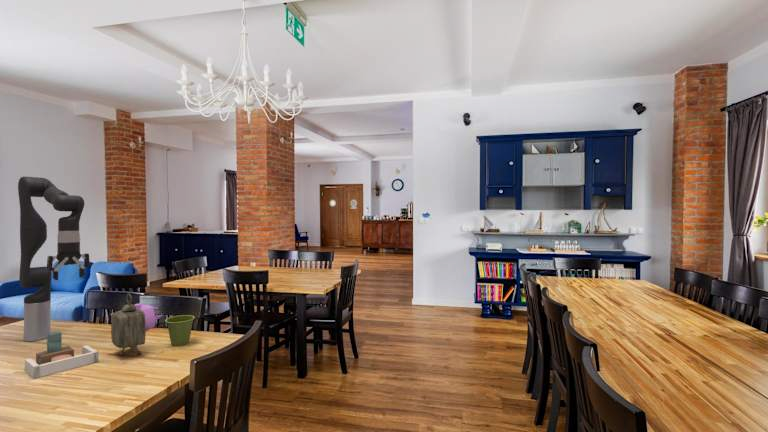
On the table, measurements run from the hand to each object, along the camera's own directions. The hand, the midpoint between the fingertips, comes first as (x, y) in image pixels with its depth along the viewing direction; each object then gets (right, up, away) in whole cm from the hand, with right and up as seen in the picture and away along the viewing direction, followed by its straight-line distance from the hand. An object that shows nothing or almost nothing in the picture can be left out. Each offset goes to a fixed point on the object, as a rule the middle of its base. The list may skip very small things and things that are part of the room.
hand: (68, 278), depth 165 cm
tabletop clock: (+30, -30, -6) cm, 43 cm away
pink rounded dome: (+12, -30, -18) cm, 37 cm away
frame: (+14, -30, -19) cm, 38 cm away
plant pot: (+45, -30, +6) cm, 54 cm away
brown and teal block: (+6, -30, -14) cm, 34 cm away
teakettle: (+11, -30, +29) cm, 43 cm away
